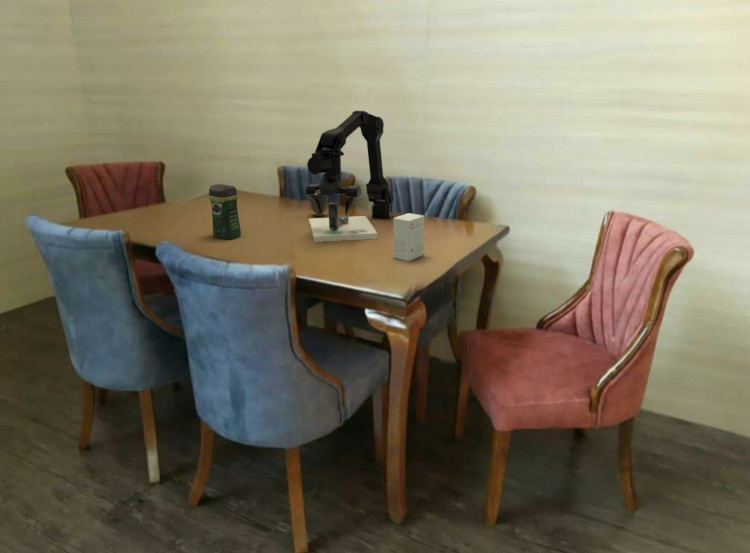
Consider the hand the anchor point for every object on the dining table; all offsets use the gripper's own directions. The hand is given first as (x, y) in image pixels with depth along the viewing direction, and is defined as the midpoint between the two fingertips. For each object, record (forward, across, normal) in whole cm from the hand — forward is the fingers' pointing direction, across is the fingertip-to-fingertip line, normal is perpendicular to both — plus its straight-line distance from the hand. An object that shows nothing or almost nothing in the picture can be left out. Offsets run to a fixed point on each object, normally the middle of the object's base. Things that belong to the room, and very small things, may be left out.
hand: (333, 214), depth 201 cm
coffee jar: (+8, -37, -10) cm, 39 cm away
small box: (+8, +30, -17) cm, 35 cm away
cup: (+8, -15, +26) cm, 31 cm away
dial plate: (+8, 0, +7) cm, 10 cm away
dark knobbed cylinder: (+5, 0, +5) cm, 7 cm away
